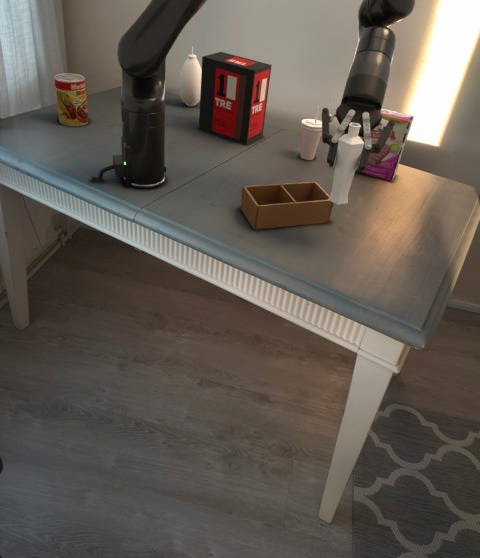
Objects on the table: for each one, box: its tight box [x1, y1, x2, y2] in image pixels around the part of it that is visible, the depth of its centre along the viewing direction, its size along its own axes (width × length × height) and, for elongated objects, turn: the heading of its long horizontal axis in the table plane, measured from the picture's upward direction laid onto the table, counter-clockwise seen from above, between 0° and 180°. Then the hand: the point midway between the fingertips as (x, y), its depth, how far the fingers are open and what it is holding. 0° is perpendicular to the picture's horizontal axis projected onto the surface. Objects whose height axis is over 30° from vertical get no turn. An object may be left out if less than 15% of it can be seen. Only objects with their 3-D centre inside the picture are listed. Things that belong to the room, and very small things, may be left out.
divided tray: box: [239, 181, 334, 230], centre depth 109 cm, size 18×9×6 cm, turn 109°
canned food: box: [53, 72, 89, 127], centre depth 139 cm, size 8×8×12 cm
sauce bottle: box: [178, 45, 202, 107], centre depth 158 cm, size 8×8×18 cm
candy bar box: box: [355, 107, 414, 182], centre depth 129 cm, size 11×5×16 cm, turn 65°
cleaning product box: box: [198, 51, 272, 146], centre depth 141 cm, size 16×9×20 cm, turn 58°
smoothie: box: [299, 105, 322, 161], centre depth 134 cm, size 6×6×14 cm
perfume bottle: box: [328, 123, 364, 205], centre depth 94 cm, size 5×4×15 cm
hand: (345, 167), depth 92 cm, fingers closed on perfume bottle, 4 cm apart
